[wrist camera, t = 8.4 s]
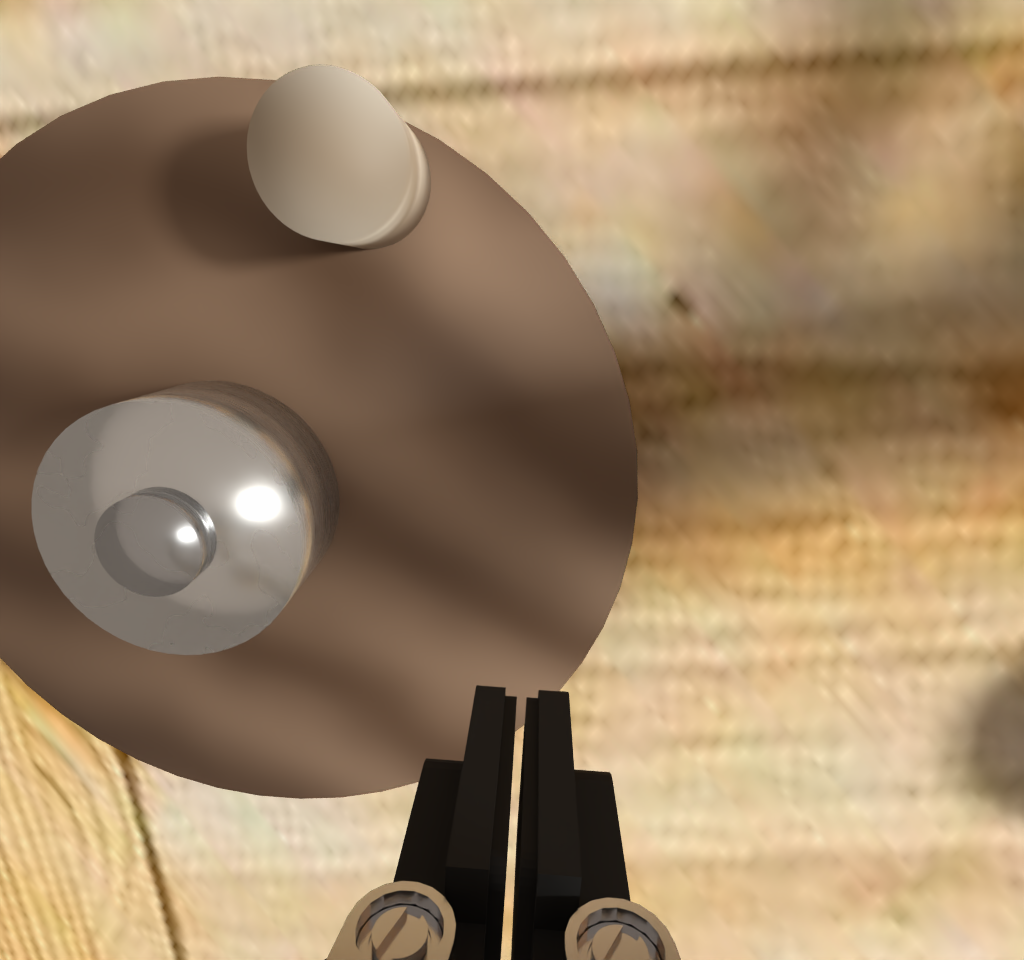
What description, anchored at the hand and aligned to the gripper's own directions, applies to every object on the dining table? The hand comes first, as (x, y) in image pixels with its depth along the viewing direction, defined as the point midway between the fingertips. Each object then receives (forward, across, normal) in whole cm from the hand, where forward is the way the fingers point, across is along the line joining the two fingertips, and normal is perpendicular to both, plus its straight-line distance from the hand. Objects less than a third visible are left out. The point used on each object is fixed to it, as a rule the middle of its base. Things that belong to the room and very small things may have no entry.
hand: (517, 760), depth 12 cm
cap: (+12, +11, -1) cm, 16 cm away
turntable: (+14, +9, -1) cm, 17 cm away
